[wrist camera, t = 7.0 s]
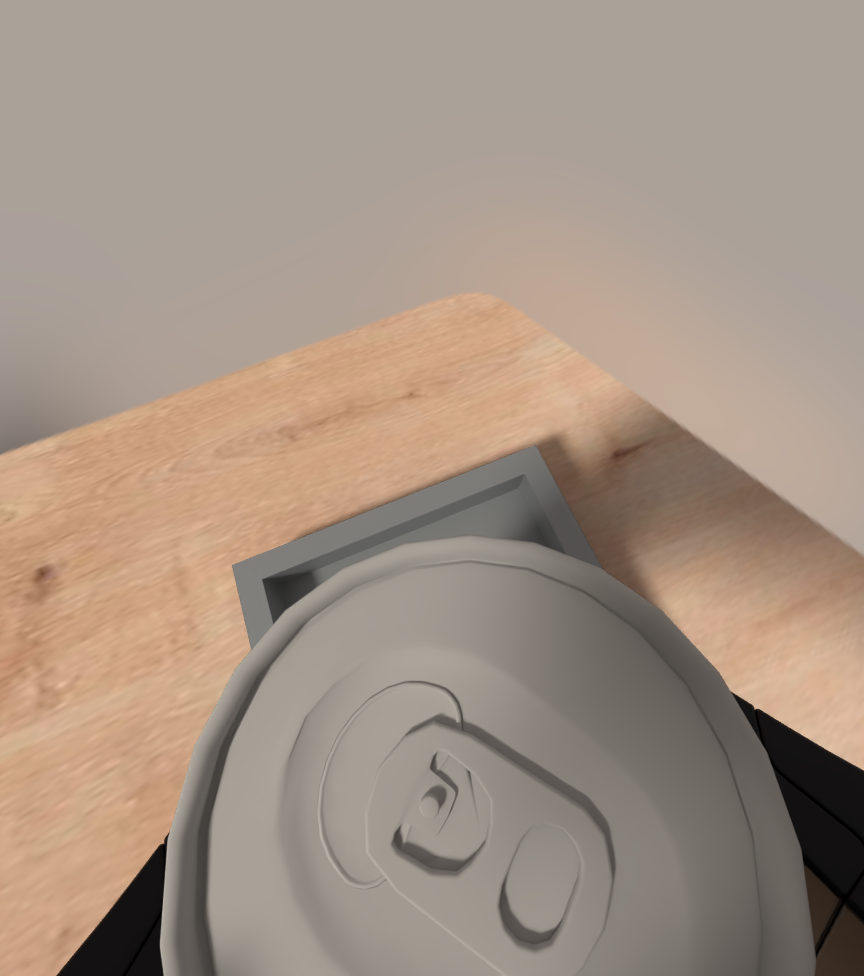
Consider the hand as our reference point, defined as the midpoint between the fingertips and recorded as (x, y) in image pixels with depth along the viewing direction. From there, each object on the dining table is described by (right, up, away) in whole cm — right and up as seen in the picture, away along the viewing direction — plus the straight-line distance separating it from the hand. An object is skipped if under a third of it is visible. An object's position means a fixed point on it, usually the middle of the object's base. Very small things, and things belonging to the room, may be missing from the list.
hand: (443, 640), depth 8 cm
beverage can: (0, -4, +6) cm, 7 cm away
